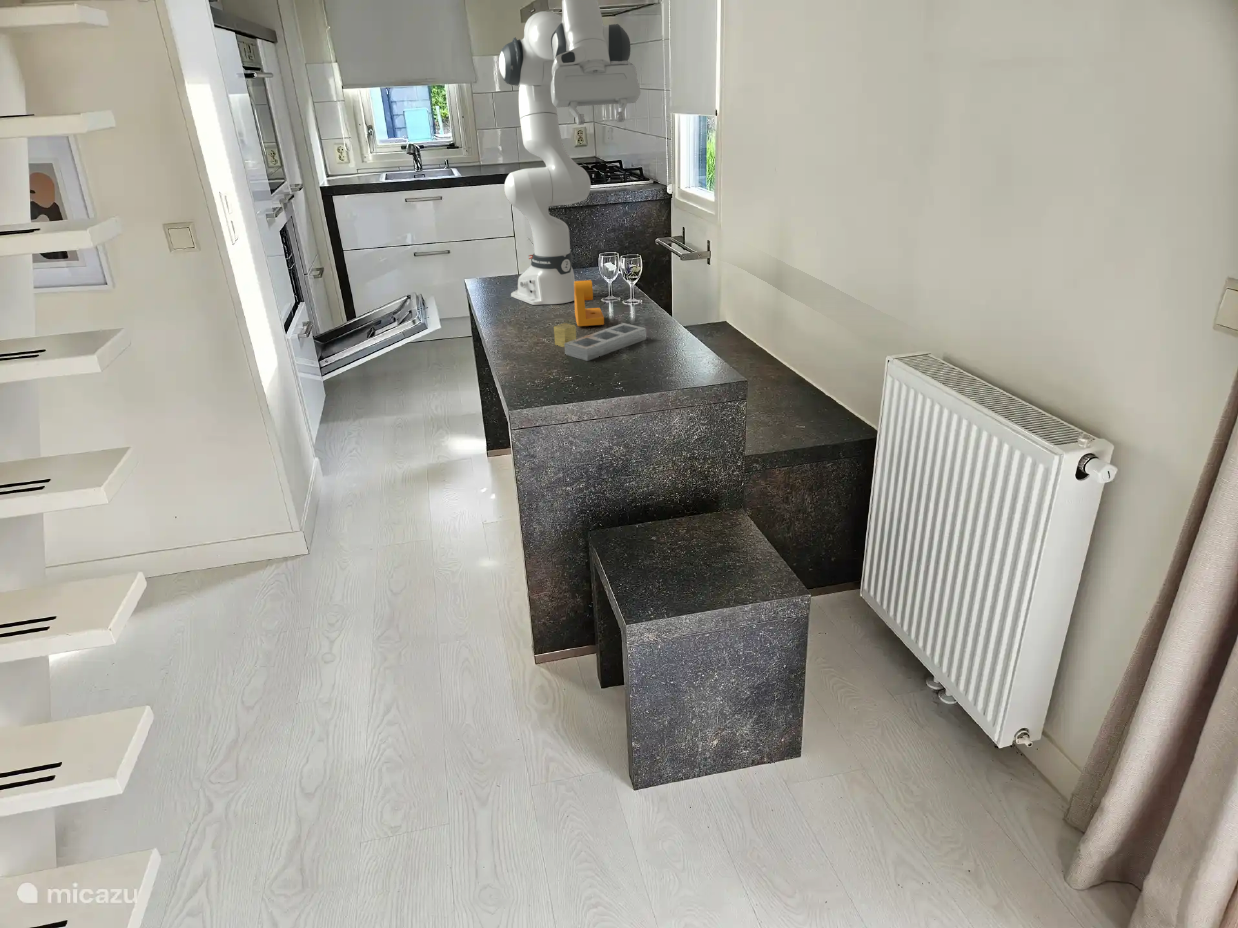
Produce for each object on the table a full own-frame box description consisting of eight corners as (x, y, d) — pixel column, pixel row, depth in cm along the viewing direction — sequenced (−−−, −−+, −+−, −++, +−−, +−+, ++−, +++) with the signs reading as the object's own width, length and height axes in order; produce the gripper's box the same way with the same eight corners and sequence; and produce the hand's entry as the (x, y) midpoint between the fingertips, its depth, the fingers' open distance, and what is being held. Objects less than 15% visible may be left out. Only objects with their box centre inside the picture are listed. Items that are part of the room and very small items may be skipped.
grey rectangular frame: (565, 354, 205) (564, 343, 204) (623, 333, 219) (623, 323, 218) (587, 361, 200) (586, 349, 199) (646, 339, 214) (646, 328, 213)
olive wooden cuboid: (555, 345, 213) (553, 326, 210) (566, 341, 215) (564, 322, 213) (565, 347, 210) (564, 329, 208) (576, 344, 213) (575, 325, 210)
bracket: (604, 327, 225) (602, 284, 220) (578, 329, 225) (576, 286, 219) (600, 316, 235) (598, 275, 230) (575, 318, 234) (572, 277, 229)
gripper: (630, 68, 189) (641, 126, 188) (544, 72, 183) (555, 131, 183) (637, 53, 182) (648, 113, 182) (549, 56, 177) (560, 118, 177)
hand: (601, 122), depth 183 cm, fingers open, 8 cm apart
